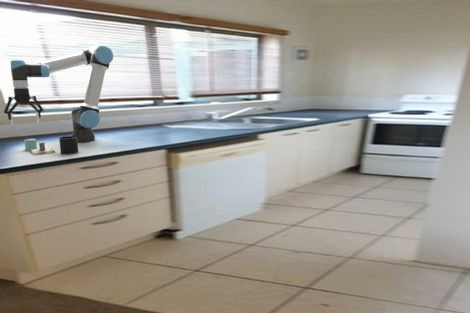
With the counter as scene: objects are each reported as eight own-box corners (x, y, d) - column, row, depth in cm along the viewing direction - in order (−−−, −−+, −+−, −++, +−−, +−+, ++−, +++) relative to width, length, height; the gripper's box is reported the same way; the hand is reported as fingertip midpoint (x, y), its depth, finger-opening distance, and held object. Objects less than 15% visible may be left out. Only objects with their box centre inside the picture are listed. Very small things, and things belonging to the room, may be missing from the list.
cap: (36, 148, 220) (34, 138, 219) (37, 149, 216) (36, 139, 214) (24, 149, 217) (23, 139, 215) (26, 150, 212) (25, 140, 211)
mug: (70, 149, 217) (69, 135, 215) (81, 152, 210) (80, 137, 208) (55, 152, 210) (53, 137, 208) (65, 155, 203) (64, 139, 201)
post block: (51, 149, 217) (50, 140, 216) (55, 152, 209) (54, 143, 207) (30, 151, 210) (29, 142, 209) (33, 155, 202) (32, 145, 201)
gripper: (43, 87, 218) (47, 121, 223) (-6, 88, 202) (-1, 125, 207) (46, 87, 212) (50, 123, 217) (-4, 88, 197) (2, 127, 201)
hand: (25, 124), depth 212 cm, fingers open, 13 cm apart
